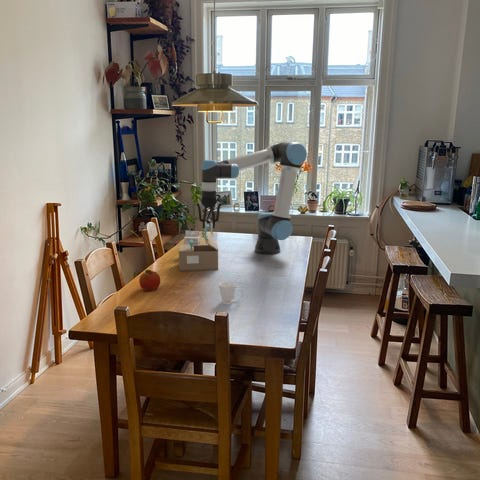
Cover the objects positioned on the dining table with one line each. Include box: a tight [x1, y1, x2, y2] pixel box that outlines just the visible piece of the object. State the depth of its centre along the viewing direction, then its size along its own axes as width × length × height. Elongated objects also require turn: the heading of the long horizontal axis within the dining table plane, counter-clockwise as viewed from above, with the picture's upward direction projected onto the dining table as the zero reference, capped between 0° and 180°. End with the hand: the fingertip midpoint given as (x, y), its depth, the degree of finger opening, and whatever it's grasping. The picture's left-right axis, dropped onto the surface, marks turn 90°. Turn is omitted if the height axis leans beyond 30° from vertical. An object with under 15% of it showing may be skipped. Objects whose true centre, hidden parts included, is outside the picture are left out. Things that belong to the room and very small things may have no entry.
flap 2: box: [200, 224, 219, 252], centre depth 245 cm, size 11×14×7 cm
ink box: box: [183, 230, 201, 245], centre depth 265 cm, size 9×5×15 cm, turn 84°
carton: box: [178, 244, 219, 272], centre depth 246 cm, size 20×14×10 cm
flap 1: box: [178, 240, 194, 253], centre depth 244 cm, size 8×14×5 cm, turn 7°
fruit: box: [138, 269, 161, 292], centre depth 212 cm, size 10×10×10 cm
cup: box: [218, 281, 244, 305], centre depth 197 cm, size 7×10×8 cm
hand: (208, 234), depth 247 cm, fingers open, 2 cm apart
